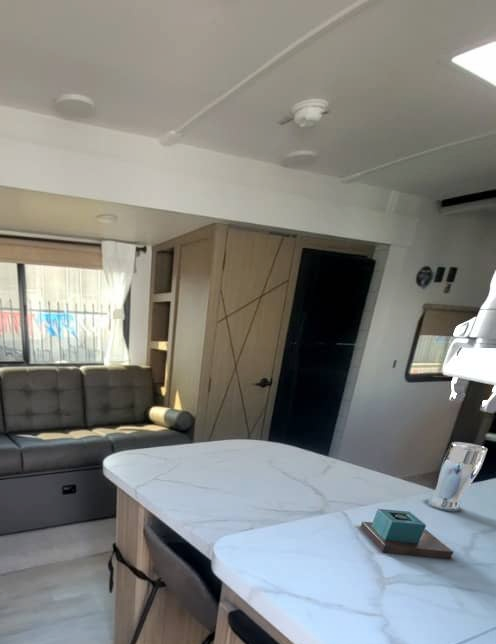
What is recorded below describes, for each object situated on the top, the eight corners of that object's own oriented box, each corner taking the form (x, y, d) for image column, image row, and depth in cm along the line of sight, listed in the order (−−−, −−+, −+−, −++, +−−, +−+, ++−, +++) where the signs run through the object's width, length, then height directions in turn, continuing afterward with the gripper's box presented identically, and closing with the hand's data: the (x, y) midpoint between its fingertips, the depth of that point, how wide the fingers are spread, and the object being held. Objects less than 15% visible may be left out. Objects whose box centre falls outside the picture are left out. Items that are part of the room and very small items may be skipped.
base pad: (420, 533, 84) (430, 509, 82) (450, 558, 75) (462, 532, 73) (360, 527, 85) (368, 504, 83) (382, 552, 76) (392, 526, 74)
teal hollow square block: (402, 529, 82) (409, 511, 80) (418, 543, 77) (426, 525, 75) (371, 526, 83) (377, 508, 81) (385, 540, 77) (392, 521, 76)
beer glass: (433, 509, 96) (459, 448, 89) (420, 498, 102) (444, 440, 95) (466, 514, 94) (496, 452, 88) (451, 502, 100) (478, 443, 94)
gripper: (574, 331, 63) (530, 419, 70) (483, 328, 82) (455, 398, 88) (530, 328, 64) (490, 416, 70) (450, 326, 82) (424, 396, 88)
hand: (470, 406), depth 79 cm, fingers open, 8 cm apart
